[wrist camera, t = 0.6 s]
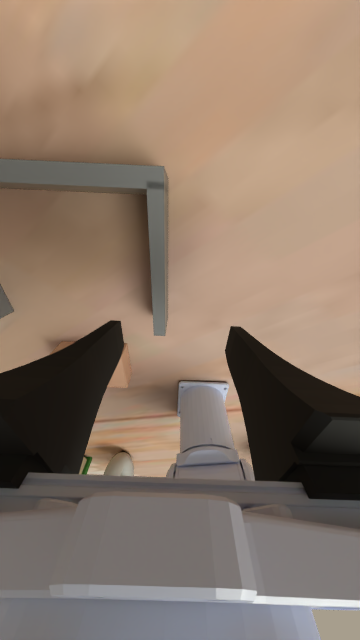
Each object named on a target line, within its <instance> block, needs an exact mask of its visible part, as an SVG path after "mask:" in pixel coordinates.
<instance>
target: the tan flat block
mask: <svg viewBox="0 0 360 640" xmlns="http://www.w3.org/2000/svg"><path fill="white" fill-rule="evenodd" d="M73 343H75V342H65V341H62V342H61V343H60V344H59V345H58V346H57V347H56V348H55V349H54V350H53V352H52V353H51V354H53V353H55V352H57V351H59V350H61V349H63V348H65V347H67V346H69V345H71V344H73ZM51 354H50V355H51ZM131 375H132V371H131V365H130V359H129V353H128V347H127V344H126V343H124V348H123V352H122V355H121V358H120V360H119V363H118V365H117V367H116V369H115V371H114V373H113V375H112V377H111V380H110V382H109V384H108V386H107V387H118V388H127V387H128V384H129V381H130V378H131Z"/></svg>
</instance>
